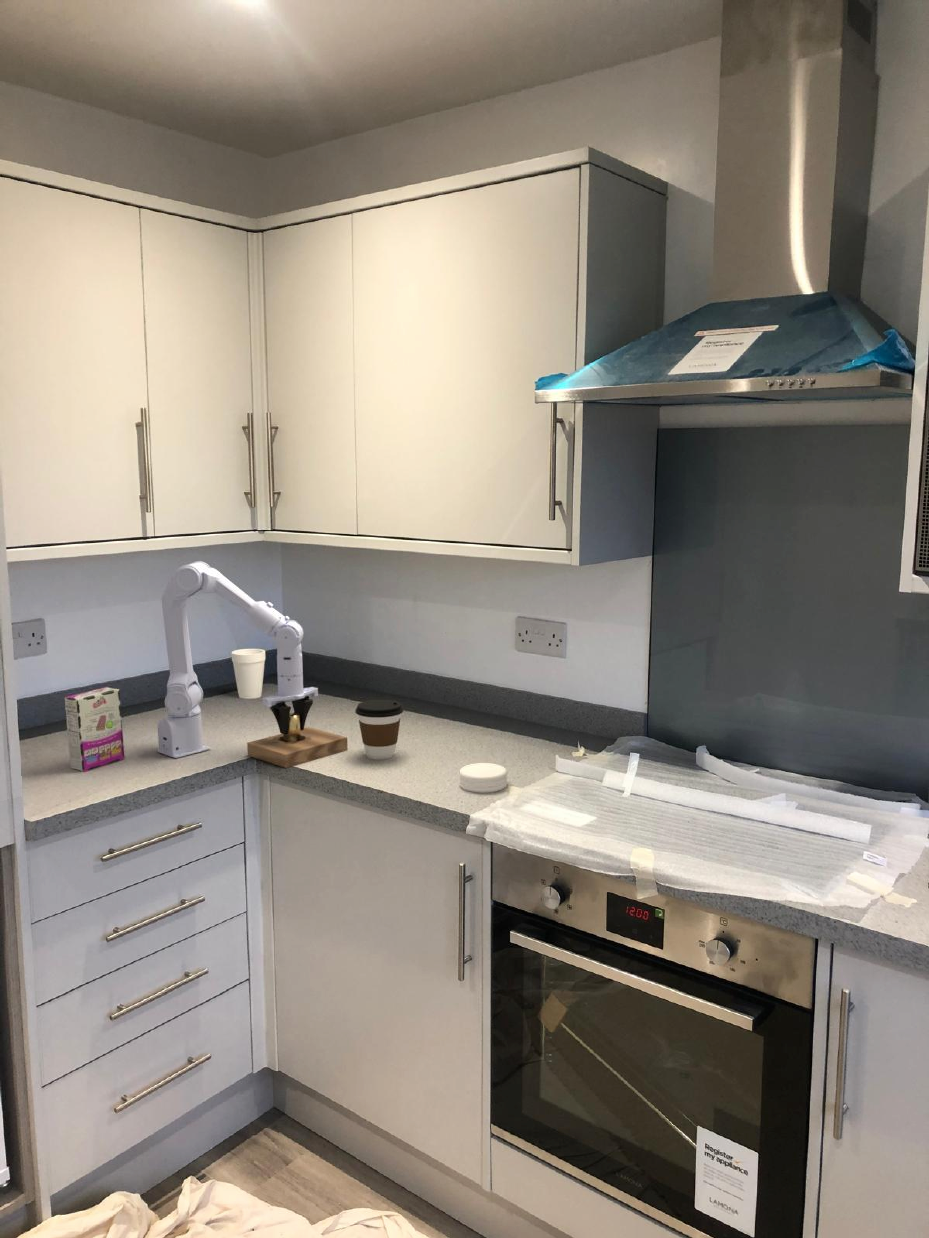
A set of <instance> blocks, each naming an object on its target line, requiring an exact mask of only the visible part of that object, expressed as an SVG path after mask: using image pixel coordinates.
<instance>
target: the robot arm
mask: <svg viewBox="0 0 929 1238" xmlns="http://www.w3.org/2000/svg"><path fill="white" fill-rule="evenodd" d="M200 591H201V593H203V594H204V593H205V594H217V595H219V597H222V598H223V599H225V600H226V601H227V602H229V603H231V604H232V605H234V606H235V607H237V609H240V610H242V611H243V612H244V613H245V614H246V618H247V621H248V623H250V624H251V625H253V626H254V627H256V628H257V629H259V630H260V631H261V632H263V633H264V634H265V635H266V636H268V637H269V638H272V639H273V643H274V645H275V646H276V649H277V653H276V664H277V667H276V668H277V669H276V671H277V692H276V693H273V694H271V695H269V696H266V697H262V706H263V707H264V708H269V709H270V710H271V712H272V714H273V715H274V718H275V720H276V722H277V725H278V729H279V733H280V734H285V735H286V734H288V731H289V714H290V713H291V709H292V707H293V712H294V713H299V714H300V730H301V731H302V730H304V728H305V727H306V726H305V725H306V721H307V717H308V714H309V711H310V709H311V708H312V705H313V704H314V701H313V700H314V699H311V698H313V697H314V698H315V697H318V696H319V691H318V690H319V688H318V687H316V686H315V687H314V686H310V687H304V673H303V672H304V671H303V667H304V666H303V653H302V652H303V651H302V649H303V648H302V643H301V642H302V640H303V638H304V629H303V626H302V625H300V624H299V622H298V621H296V620H293V619H291V618H290V617H289V616H288V615H286V616H284V614H282V613H280V612H279V611H278V610H276V609H275V608H274V604H273V603H272V602H270V601H268V602H266V601H264V600H259V601H255V600H254V599H253V598H252V597H250V596H249V595H248V594H247V593H245V592H244V591H243V590H242V589H240V588H239V587H238V586H237V585H235V584H234V583H233V582H232V581H231V580H229V579H228V578H227V577H225V576H224V575H223V574H222V573H221V572H220V571H219V570H218V569H216V568H214V567H211V566H210V565H209V564H208V563H207V562H204V561H201V560H199V561H198V560H197V561H193V562H191V563H189V564H185V565H181V566H180V567H178V568H177V569H176V570H175V571H174V572H172V573H171V575H170V577H169V581H168V584H167V585H166V587H165V590H164V592H163V594H162V595H161V607H162V616H163V623H164V624H163V625H164V634H165V642H166V652H167V659H168V668H169V677H168V680H167V683H166V689H167V690H166V691H167V692H166V695H165V699H164V707H165V709H166V711H168V714H167V716H165V717H162V718H161V719H159V721H158V723H157V739H158V741H157V743H158V749H157V753H160V754H163V755H165V756H168V757H171V758H174V759H178V758H181V757H186V756H188V755H189V756H190V755H192V754H197V753H201V752H205V751H209V750H211V747H210V746H208V745H204V744H203V728H202V726H203V725H202V709H201V707H200V704H201V702H202V701H203V698H204V691H203V688H202V687H201V684H200V683H199V681H198V676H197V674H196V672H195V671H194V666H193V658H192V649H191V640H190V631H189V623H188V622H189V621H188V614H187V606H186V605H187V603H188V602H189V601H190V600H191V599H192V598H193V597H194V595H196V593H198V592H200ZM289 702H291V704H292V707H291V706H289V705H287V704H286V703H289Z"/></svg>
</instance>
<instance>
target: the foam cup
mask: <svg viewBox="0 0 929 1238" xmlns="http://www.w3.org/2000/svg"><path fill="white" fill-rule="evenodd" d="M231 661H232V663H233V664H232V665H233V671H234V677H235V682H236V687H237V694H238V698H239V699H246V700H248V699H249V700H251V699H257V698H261V697H262V694H263V693H262V692H263V683H264V682H263V681H264V672H265V661H266V650H265V649H261V648H242V649H235V650H232V651H231Z"/></svg>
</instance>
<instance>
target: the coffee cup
mask: <svg viewBox="0 0 929 1238" xmlns="http://www.w3.org/2000/svg"><path fill="white" fill-rule="evenodd" d="M354 713H355V714H357V715H358V722H359V723H358V724H359V728H360V729H359V730H360V735H361V740H362V744H363V747H364V752H365V755H366V756H367V758H369V759H371V760H387V759H391V758H393V757H394V755H395V752H396V746H397V743H398V739H399V731H400V724H401V714H403V713H404V707H403V705H402V703H401V702H399V701H397V700H394V699H369V700H365V701H361V702H360V703H358V705H357V707H356V708H355V712H354Z"/></svg>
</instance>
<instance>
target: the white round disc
mask: <svg viewBox="0 0 929 1238" xmlns="http://www.w3.org/2000/svg"><path fill="white" fill-rule="evenodd" d="M458 779H459V786H460V788H462V789H463V790H465V791H467V792H472V793H481V794H486V793H495V792H499V791H502V790H504V789H505V788H506V787H507V786H508V770H507V768H505V767H504V766H503V765H500V764H496V763H491V762H489V763H487V762H479V763H477V762H476V763H471V764H467V765H465V766H463V767H461V768H460V770H459V778H458Z"/></svg>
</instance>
